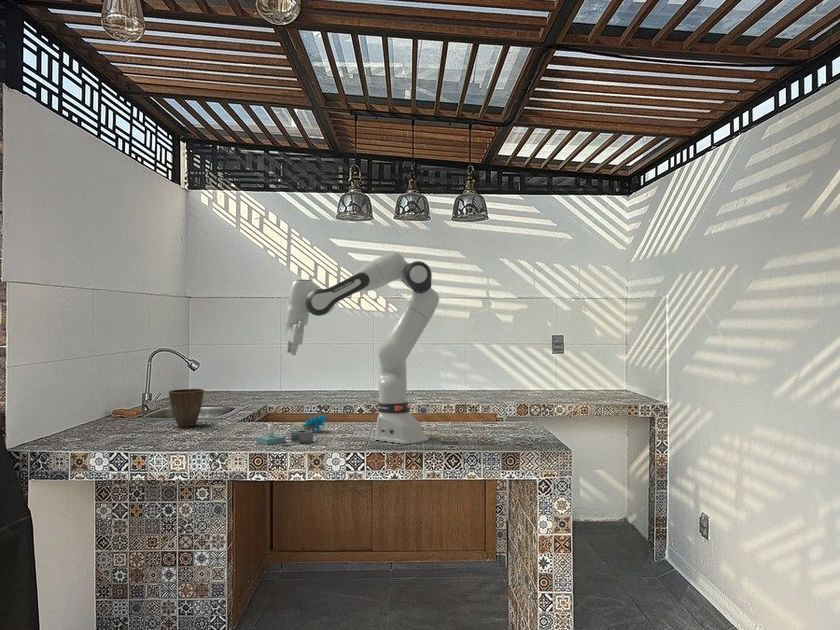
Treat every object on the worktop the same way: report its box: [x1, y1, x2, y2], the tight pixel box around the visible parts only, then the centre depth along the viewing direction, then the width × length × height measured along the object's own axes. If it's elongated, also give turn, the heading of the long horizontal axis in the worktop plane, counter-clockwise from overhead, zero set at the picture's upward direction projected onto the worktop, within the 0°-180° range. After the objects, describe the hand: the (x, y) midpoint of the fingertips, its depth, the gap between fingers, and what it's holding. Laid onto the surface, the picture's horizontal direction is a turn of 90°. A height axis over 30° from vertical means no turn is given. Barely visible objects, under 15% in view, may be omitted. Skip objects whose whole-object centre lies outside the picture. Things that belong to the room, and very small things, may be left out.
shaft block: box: [255, 423, 286, 446], centre depth 252 cm, size 8×8×7 cm
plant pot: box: [168, 388, 205, 428], centre depth 292 cm, size 15×15×16 cm
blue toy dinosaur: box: [301, 414, 327, 434], centre depth 273 cm, size 11×6×10 cm
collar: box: [290, 429, 314, 445], centre depth 252 cm, size 6×6×4 cm
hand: (291, 353), depth 258 cm, fingers open, 8 cm apart
